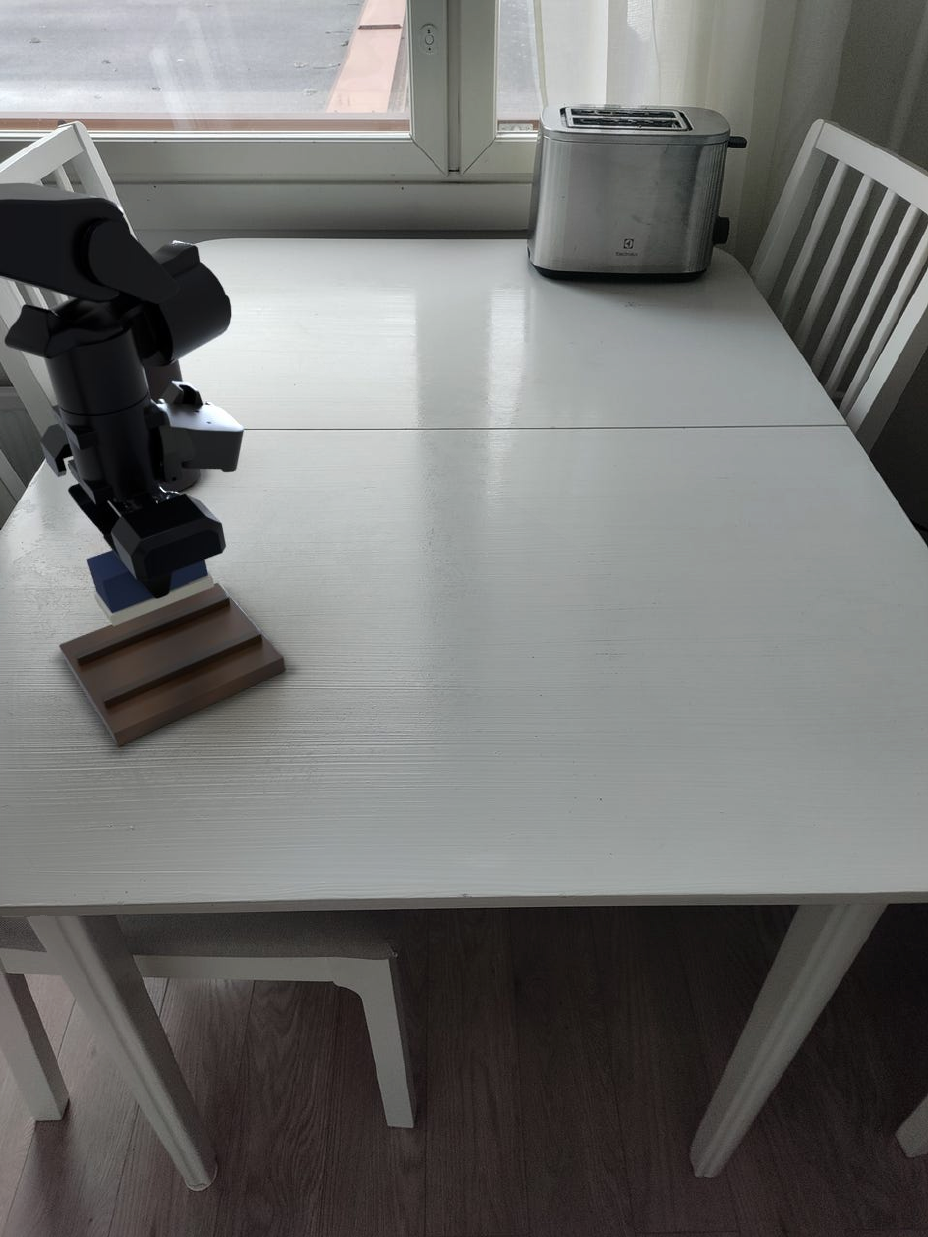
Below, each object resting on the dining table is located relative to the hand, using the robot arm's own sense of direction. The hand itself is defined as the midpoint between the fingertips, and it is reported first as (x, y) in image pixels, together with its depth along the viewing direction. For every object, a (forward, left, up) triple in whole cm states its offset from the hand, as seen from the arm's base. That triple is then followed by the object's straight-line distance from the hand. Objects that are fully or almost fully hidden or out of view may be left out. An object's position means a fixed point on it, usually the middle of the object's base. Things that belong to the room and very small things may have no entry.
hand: (152, 583), depth 72 cm
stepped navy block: (0, 0, -1) cm, 1 cm away
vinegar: (+11, +27, -9) cm, 31 cm away
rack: (0, 0, -8) cm, 9 cm away
